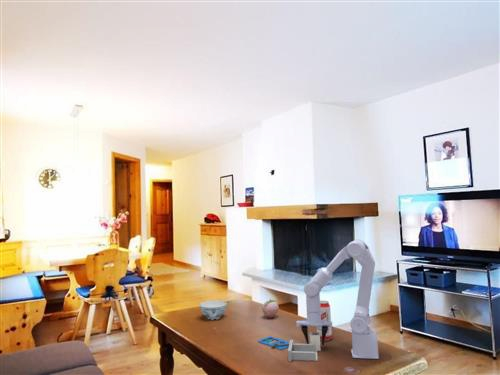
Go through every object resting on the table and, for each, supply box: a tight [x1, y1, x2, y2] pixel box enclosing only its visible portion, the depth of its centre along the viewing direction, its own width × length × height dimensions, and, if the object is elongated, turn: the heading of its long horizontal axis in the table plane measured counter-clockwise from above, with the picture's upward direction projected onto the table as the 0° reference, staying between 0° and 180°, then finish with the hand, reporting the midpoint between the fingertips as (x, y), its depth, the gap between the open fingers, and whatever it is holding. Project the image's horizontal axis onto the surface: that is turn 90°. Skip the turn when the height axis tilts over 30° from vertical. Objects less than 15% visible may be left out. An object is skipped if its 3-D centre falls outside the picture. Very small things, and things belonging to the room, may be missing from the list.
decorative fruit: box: [261, 299, 280, 319], centre depth 195 cm, size 9×8×10 cm
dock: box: [287, 339, 318, 363], centre depth 141 cm, size 11×12×4 cm
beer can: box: [316, 300, 333, 342], centre depth 160 cm, size 6×6×16 cm
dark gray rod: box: [270, 342, 297, 349], centre depth 152 cm, size 10×1×1 cm, turn 100°
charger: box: [309, 331, 322, 352], centre depth 149 cm, size 4×4×6 cm
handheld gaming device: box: [257, 335, 290, 351], centre depth 156 cm, size 8×1×15 cm
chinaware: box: [199, 300, 228, 321], centre depth 198 cm, size 15×15×8 cm
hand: (315, 344), depth 148 cm, fingers open, 5 cm apart
